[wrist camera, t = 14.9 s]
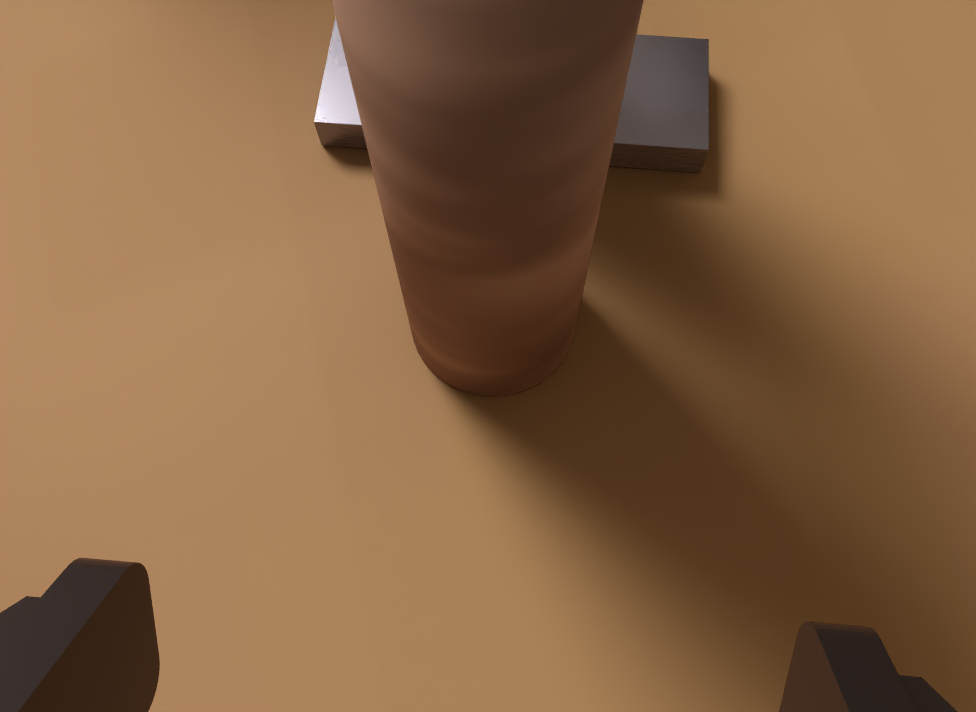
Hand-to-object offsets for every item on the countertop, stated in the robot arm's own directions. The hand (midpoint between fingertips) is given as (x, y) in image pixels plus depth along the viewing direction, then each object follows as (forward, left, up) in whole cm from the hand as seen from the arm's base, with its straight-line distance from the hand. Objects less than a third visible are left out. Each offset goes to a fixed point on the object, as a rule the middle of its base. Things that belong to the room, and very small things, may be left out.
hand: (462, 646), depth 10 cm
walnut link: (0, +8, -8) cm, 11 cm away
